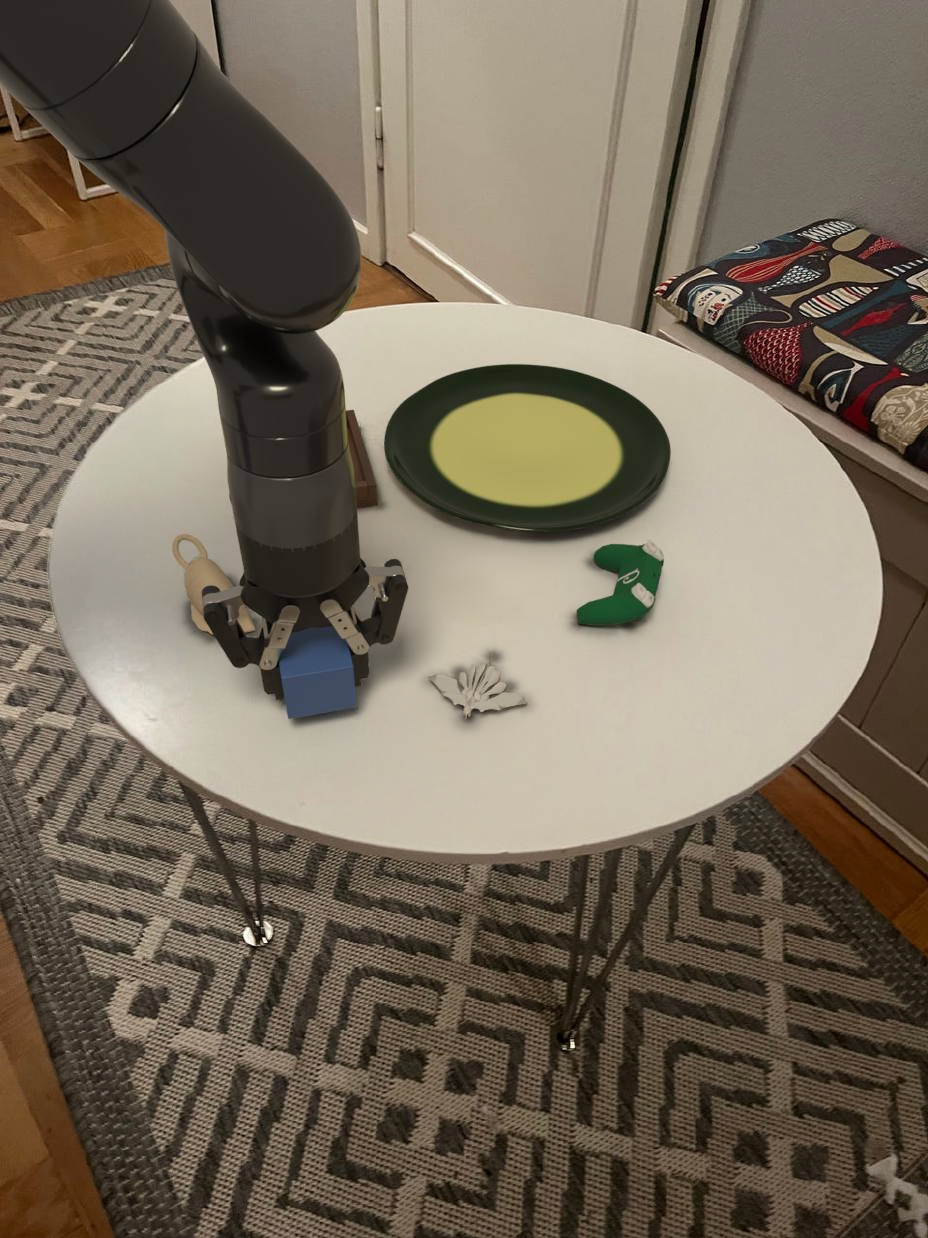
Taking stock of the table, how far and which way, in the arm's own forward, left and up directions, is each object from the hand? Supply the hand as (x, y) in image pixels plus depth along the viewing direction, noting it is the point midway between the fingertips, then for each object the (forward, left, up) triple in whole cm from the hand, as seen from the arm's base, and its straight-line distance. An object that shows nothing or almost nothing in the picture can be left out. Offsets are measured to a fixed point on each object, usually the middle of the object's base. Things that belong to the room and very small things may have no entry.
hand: (317, 684), depth 71 cm
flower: (+12, -1, -2) cm, 12 cm away
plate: (+24, +27, -2) cm, 36 cm away
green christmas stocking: (+26, +6, -2) cm, 27 cm away
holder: (+3, +29, -2) cm, 29 cm away
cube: (0, 0, 0) cm, 0 cm away
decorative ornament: (-7, +12, -2) cm, 14 cm away
